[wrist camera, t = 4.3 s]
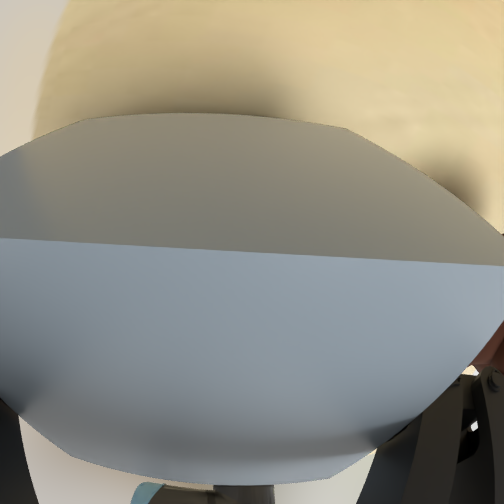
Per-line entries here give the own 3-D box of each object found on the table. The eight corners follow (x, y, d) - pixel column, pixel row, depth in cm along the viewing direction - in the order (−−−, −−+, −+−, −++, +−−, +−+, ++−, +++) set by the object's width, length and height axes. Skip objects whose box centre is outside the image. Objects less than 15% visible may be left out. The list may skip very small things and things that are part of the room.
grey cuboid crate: (300, 321, 15) (329, 478, 8) (118, 310, 14) (71, 456, 7) (346, 128, 10) (535, 268, 2) (85, 119, 9) (-103, 232, 2)
